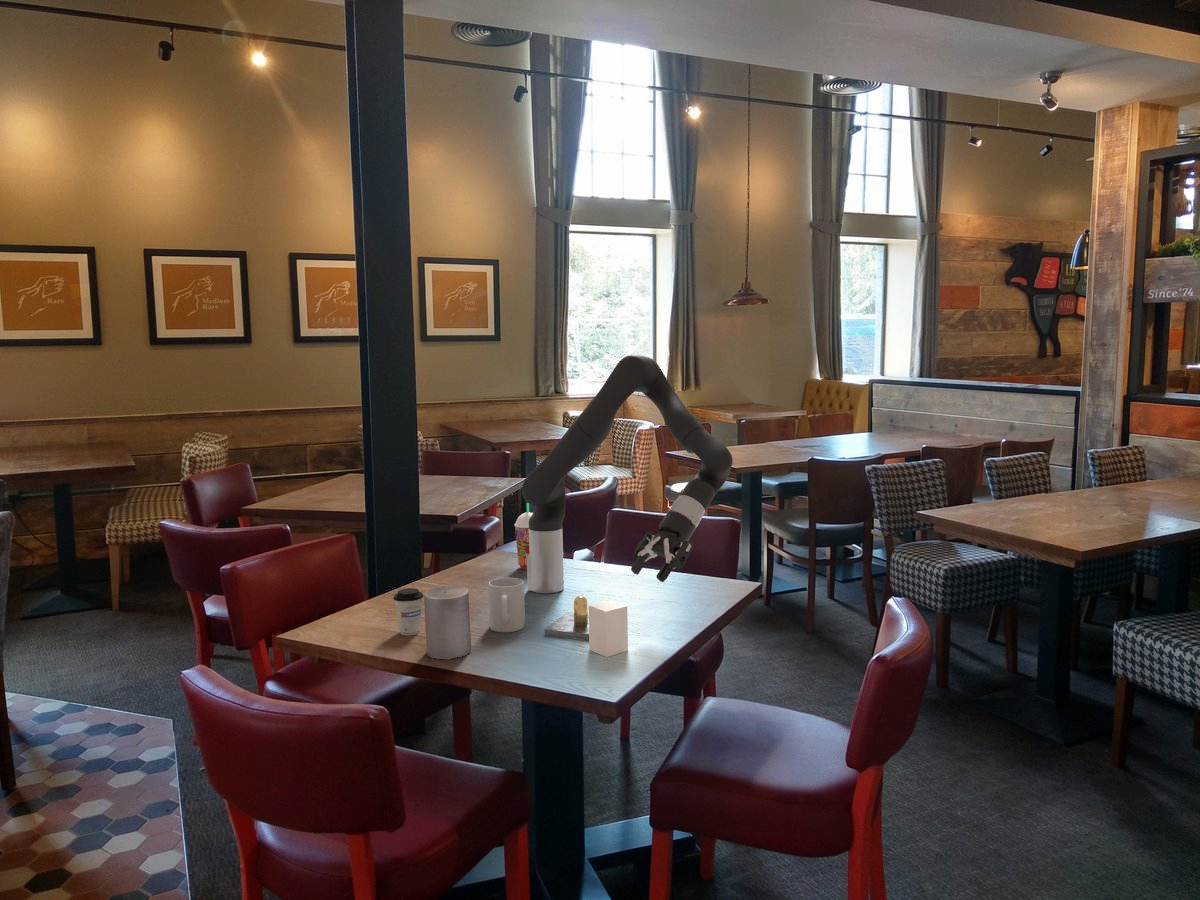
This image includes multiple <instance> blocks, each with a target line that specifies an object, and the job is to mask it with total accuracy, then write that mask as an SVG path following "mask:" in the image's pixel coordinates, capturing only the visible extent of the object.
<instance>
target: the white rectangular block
mask: <svg viewBox="0 0 1200 900" xmlns="http://www.w3.org/2000/svg"><path fill="white" fill-rule="evenodd" d="M588 615H589V640H588V642H589V643H588V644H589V648H588V649H589V651H592V652H594V653H597V654H599V655H601V656H603V657H606V658H608V657H611V656H614V655H618V654H622V653H624V652H628V651H629V636H628V635H629V634H628V633H629V630H628V629H629V628H628V622H629V621H628V620H629V619H628V605H625V604H622V603H620V602H618V601H614V600H610V599H608V600H605V601H600V602H598V603H597V602H596V603H593V604H589V605H588Z"/></svg>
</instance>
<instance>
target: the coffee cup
mask: <svg viewBox="0 0 1200 900" xmlns="http://www.w3.org/2000/svg"><path fill="white" fill-rule="evenodd" d="M423 598H424V593H423V592H421V591H419V589H418V588H414V587H408V588H407V587H406V588H402V589H399V590H398V591H397V593H396V594H395V595H393V600H394V605H395V609H396V610H395V611H396V616H397V617H396V618H397V623H398V628H399V634H401V635H402V636H413V635H417V634H420V633H421V623H422V622H421V621H422V611H423V610H422V608H423Z"/></svg>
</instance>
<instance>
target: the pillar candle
mask: <svg viewBox="0 0 1200 900" xmlns="http://www.w3.org/2000/svg"><path fill="white" fill-rule="evenodd" d="M423 598H424V599H423V600H424V604H423V605H424V620H425V622H424V623H425V624H424V625H425V639H426V640H425V642H426V644H425V645H426V655H427V656H428V657H429V656H430V657H433V658H438V659H437V660H439V659H448V660H453V659H457V657H458V658H463V657H466V656H468V655H469V654H470V653H471V651H472V637H471V635H472V634H471V633H472V632H471V617H470V615H471V613H470V598H469V589H468V588H467V587H464V586H459V585H444V586H443V585H442V586H436V587H433V588H430V589H428V590H426V591H424V593H423ZM468 653H469V654H468ZM462 656H463V657H462ZM430 657H429V658H430ZM433 658H432V659H433ZM452 658H453V659H452Z"/></svg>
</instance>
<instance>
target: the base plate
mask: <svg viewBox="0 0 1200 900" xmlns="http://www.w3.org/2000/svg"><path fill="white" fill-rule="evenodd" d="M543 630H544V631H543V632H544V633H543V634H544V636H546V637H555V638H564V639H574V640H582V641H583V640H584V641H589V607H588V599H587V598H586V597H585V596H583V595H577V597H575V598H574V600H573V612H572V613H571V612H566V613H564V614H563V615H561V616H560V617H559V618H557V619H556V620H555V621H554V622H552V623H550V625H548V626H547V627H546V628H544V629H543Z"/></svg>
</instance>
